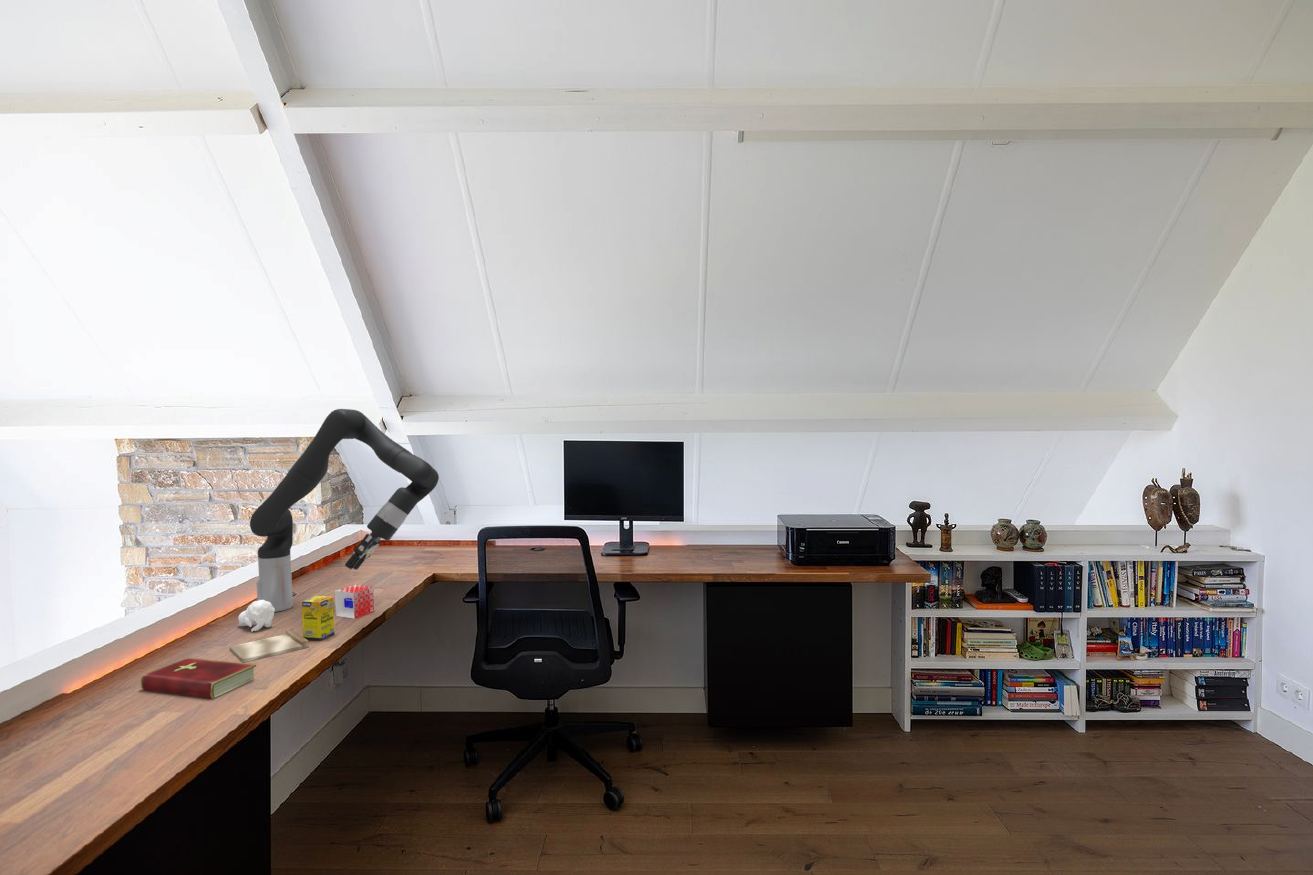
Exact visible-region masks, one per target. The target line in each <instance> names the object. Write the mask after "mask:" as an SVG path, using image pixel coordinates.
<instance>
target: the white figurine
mask: <svg viewBox="0 0 1313 875" xmlns="http://www.w3.org/2000/svg"><path fill="white" fill-rule="evenodd" d="M274 611H275V609H274V607H273V606H272V604H271V603H270V602H268V601H265V600H258V601H257V600H255V601H253V602H251V603H250V604H249V605H248V606H247V608H246V610H244V611H243V610H242V612H241V613H239V615H238V621H239V622H238V624H239V625H240V626H241V627H249V628H251V627H252V626H253V624H254V623H256V625H255V626H253V627H252V628H251V630H250V632H252V633H254V632H253V631H255V632H257V631H260V630H261V628H263V626H264V627H265V628H271V626H272V625H271V624H272V622H273V618H274V616H275V612H274Z"/></svg>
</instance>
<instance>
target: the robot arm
mask: <svg viewBox="0 0 1313 875" xmlns="http://www.w3.org/2000/svg"><path fill="white" fill-rule="evenodd" d="M342 440H357V441H359V442H361V443H364V444H366V445H367V446H368V447H370V448H371V449H372V451H373V452H374V453H375V455H376V456H377V458H378V459H379V460H380V461H381V462H382V463H384V464H385V465H386V466H388V467H389V468H391V469H392V470H393V471H394V472H396V473H399V474H401V475H403V476H404V477H406V478H407V479H408V480H409V481H411V483H409V484H408V485H407V486H406V487H403V486H402V487H401V486H400V487H399V488H398V489H396V490H395V492H394V493H393V494H392V495H391V496H390V498H389V499H388V501H386V502H385V504H383V505H382V506H381V508H380V509H379V510H378V511H377V513H376V514H375V515H374V516H373V517H372V519H371V520H370V521H369V523H367V525H366V529H368V530H369V531H371V532H370V533H366V534H365V536H364V537H363V538H362V540H361V541H360V542H359V543H358V544H357V545H356V547H355V548H354V549H353V552H352V555H351V556H350V557H349V559H348V560H347V561H346V562H345V564H344V566H345V567H346V568H348V569H349V570H352V569H354V570H355V571H356V570H358V569H359V568H360V567H361V566H362V564H363V563H364V562H365V561H366V560H367V559H368V558H371V556H372V554H373V553H374V552H375V551H376V549H377V548H378V547H379V545H380V544H381V542H382V541H381V539H383V540H385V541H387V542H388V541H390V540H391V539H392V538H393V536H394V535H395V534H396V533H397V531H398V530H399V529H400V528H401V526H402V525H403V524H404V522H405V520H406V518H407V517H408V515H409V514H410V513H411V512H412V511H413V509H414V508H415V507H416V505H417V504H418V503H419V502H421V501H422V500H423V499H424V498H426V497H427V496H428V495H429V494H430V493H431V492H433V490H434V489H435V488H436V487H437V484H438V482H439V478H440V477H439V473H438V471H437V470H436V469H435V468H434V467H433V466H432V465H431V464H430V463H428V462H427V461H425V459H422V458H421V457H419V456H417V455H415V454H413V453H412V452H411V451H409V450H408V449H406V448H404V447H403V446H402V445H401V444H399V443H398V442H396V441H394V439H392V438H390V437H389V436H388V435H387V434H385V433H384V432H383V431H382V430H381V429H379V427H378V426H377V425H375V424H374V422H372V420H370V418H368V417H367V416H366V415H365V414H364V413H363V412H361V411H360V410H357V409H351V408H350V409H349V408H348V409H347V408H336V409H333V410H332V411H331V412H330V413H329V414H328V415H327V416H326V417H325V419H324V421H323V422H322V424H321V426H320V427H319V429H318V430H317V433H315V435H314V437H313V439H312V441H310V443H309V444H308V446H307V447H306V448H305V450H304V451H303V453H302V454H301V455H300V456H299V458H298V459H297V460H296V461H295V462H294V464H293V465H292V466H291V467H290V469H289V470H288V472H287V474H286V475H285V476H284V477H283V479H281V481H280V482H279V484H278V485H277V486H276V488H275V489H274V490H273V491H272V493H271V494H270V495H269V496H268V497H267V498H266V499H265V500H264V501H263V502H262V503H261V504H260V505H259V506H258V507H257V508H256V509H255V511H254V512H253V513H252V514H251V516H250V521H249V528H250V530H251V532H252V534H254V535H255V536H258V537H261V538H263V537H264V538H265V537H266V540H265V542H264V543H263V544H262V545H261V546H260V547H258V548H257V565H258V567H257V568H258V580H257V582H256V599H257V600H256V601H258V600H265V601H268V602H270V603H271V604H272V606H273V607H274V609H275V611H274V613H276V612H282V611H286V610H290V609H291V608H292V607H293V605H294V604H293V601H294V600H293V582H292V581H293V580H292V579H293V578H292V561H291V557H292V556H291V548H292V546H293V542H294V536H293V535H294V522H293V521H294V520H293V515H292V512H291V510H290V508H291V507H293V505H295V504H296V503H298V502H299V501H302V499H304V498H305V497H306V496H307V495H309V494H310V493H311V492H312V491H313V490H314V489H316V487H317V486H318V485H319V484H320V482H322V480H323V478H324V477H325V476H326V474H327V471H328V470H329V460H330V459H329V458H330V455H331V453H332V452H333V450H334V448H336V446H337V445H338V444H339V443H340V442H341V441H342Z"/></svg>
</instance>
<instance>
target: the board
mask: <svg viewBox="0 0 1313 875" xmlns="http://www.w3.org/2000/svg"><path fill="white" fill-rule="evenodd" d="M307 648H309V640H307V639H305V638H304V637H303V635H301V634H299V633H298V632H297V631H295V630H294V629H293V628H292V629H287V630H285V633H284V634H281V635H276V636H271V637H266V638H263V639H258V640H253V641H249V642H243V643H240V644H234V645H230V646H229V650H230V651H231V652H232V653H233V654H234V655H235V656H236V657H237V658H238V659H239V660H240V661H241V662H242V663H247V662H252V661H256V660H260V659H264V658H265V659H266V658H268V657H273V656H277V655H282V654H286V653H289V652H293V651H298V650H303V649H307Z"/></svg>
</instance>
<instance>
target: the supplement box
mask: <svg viewBox="0 0 1313 875" xmlns="http://www.w3.org/2000/svg"><path fill="white" fill-rule="evenodd" d="M334 612H335V611H334V596H330V595H329V596H326V595H314V596H313V597H311V598H308V599H305V600H301V614H302V615H301V618H302V619H301V620H302V624H301V625H302V637H304V638H305V639H307V640H308V641H321V642H322V641H323V640H324V639H327V638H329V637H331V636H333V635H334V636H335V616H334Z"/></svg>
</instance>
